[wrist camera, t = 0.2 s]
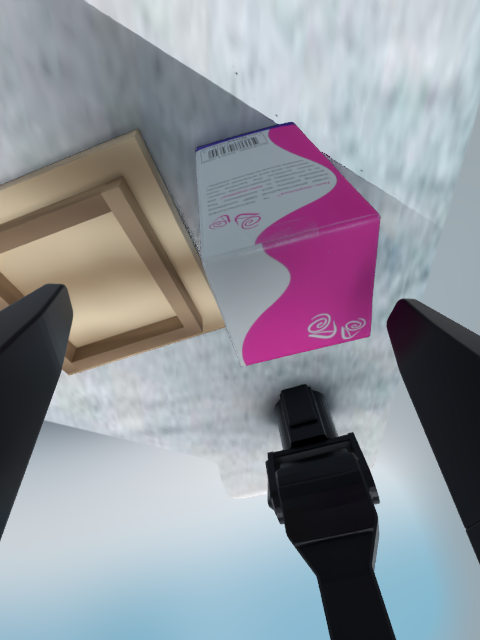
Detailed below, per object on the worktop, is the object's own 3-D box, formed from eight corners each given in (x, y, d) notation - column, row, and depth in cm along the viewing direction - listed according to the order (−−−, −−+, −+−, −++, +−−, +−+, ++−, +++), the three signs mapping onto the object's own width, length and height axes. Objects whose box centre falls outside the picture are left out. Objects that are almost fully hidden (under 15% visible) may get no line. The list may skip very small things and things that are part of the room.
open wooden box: (226, 313, 27) (229, 340, 25) (73, 361, 29) (64, 390, 27) (137, 128, 18) (129, 144, 15) (-79, 217, 20) (-114, 243, 17)
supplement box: (220, 239, 22) (236, 372, 14) (193, 146, 18) (192, 253, 10) (305, 218, 22) (374, 341, 14) (296, 118, 18) (386, 204, 10)
